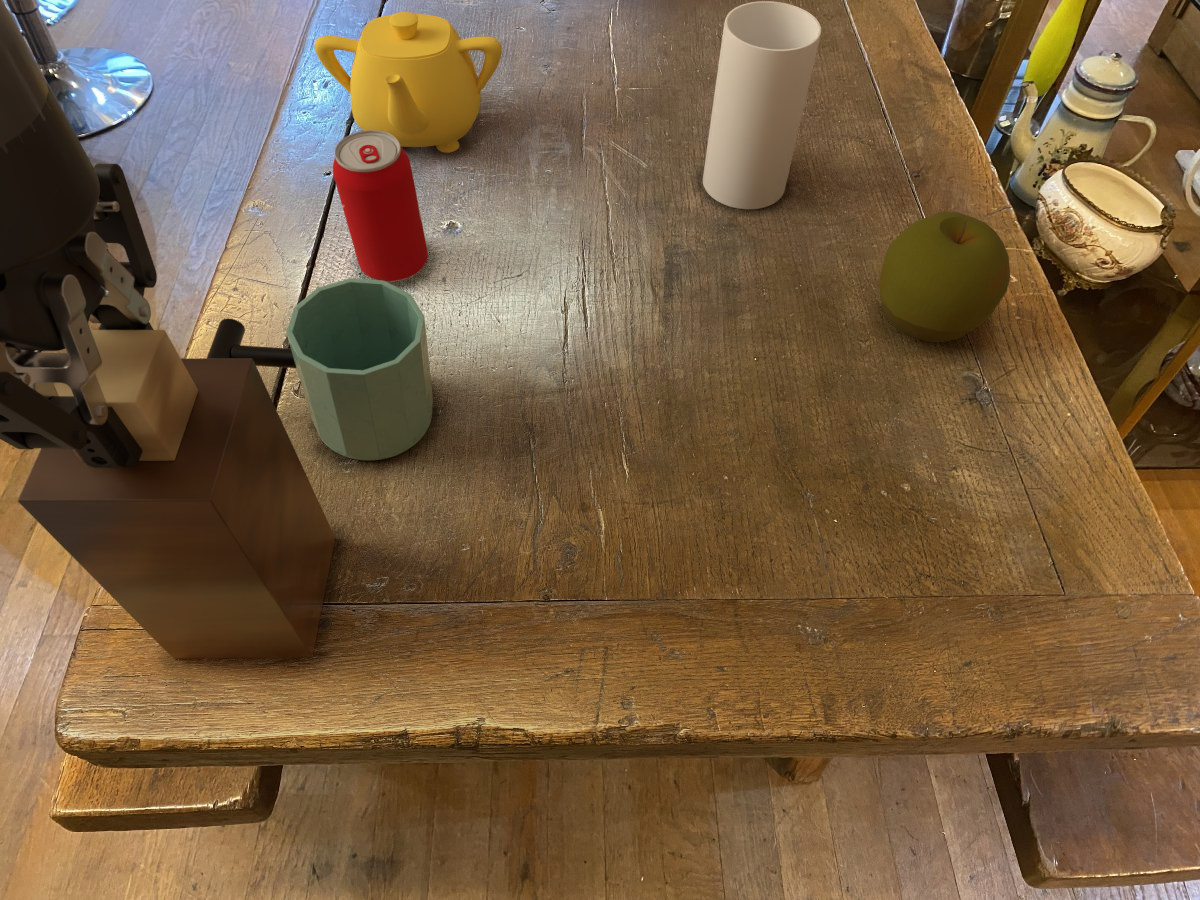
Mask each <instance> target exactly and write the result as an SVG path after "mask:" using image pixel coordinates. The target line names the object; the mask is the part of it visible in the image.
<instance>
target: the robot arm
mask: <svg viewBox="0 0 1200 900" xmlns="http://www.w3.org/2000/svg"><path fill="white" fill-rule="evenodd" d="M138 215H139V214H138V213H137V209H136V207H135V203H134V200H133V196H132V194H131V191H130V188H129V184H128V182H127V179H126V176H125V173H124V170H123V169H122V167H121V166H120V165H119V164H118V163H99V162H98V163H97V162H95V163H93V162H91V160H90V158H89V156H88V154H87V152H86V151H85V149H84V147H83V145H82V143H81V141H80V139H79V138H78V135H77V134H76V132H75V130H74V128H73V127H72V124H71V123H70V121H69V119H68V118H67V115H66V113H65V111H64V110H63V107H62V106H61V105H60V102H59V101H58V99H57V97H56V95H55V93H54V91H53V90H52V88H51V86H50V84H49V82H48V80H47V79H46V77H45V75H44V73H43V71H42V70H41V68H40V66H39V64H38V62H37V60H36V58H35V57H34V55H33V53H32V51H31V49H30V47H29V46H28V44H27V42H26V39H25V38H24V36H23V34H22V33H21V30H20V28H19V27H18V24H17V23H16V21H15V19H14V17H13V16H12V13H10V11H9V9H8V7H7V6H6V4H5V2H4V0H0V440H1V441H2V442H4V443H6V444H8V445H10V446H11V447H14V448H15V449H18V450H34V449H41V448H53V449H66V450H76V452H78V454H79V455H80V457H82V459H83V460H84V461H85V463H86V464H87V465H88V466H91V467H93V468H124V467H133V466H136V465H138V462H139V460H140V457H141V455H142V452H143V451H142V449H141V447H140V446H139V445H138V443H137V442H136V440H135V439H134V438H133V436H132V435H131V433H130V432H129V430H128V429H127V428H126V426H125V425H124V423H123V422H122V421H121V419H120V418H119V416H118V415H117V413H116V412H115V411H114V409H113V408H112V407H108V406H107V403H106V400H105V398H104V395H103V393H102V390H101V387H100V385H99V382H98V380H97V377H96V374H95V373H96V371H97V370H98V369H99V368H100V367H101V366H102V359H101V356H100V354H99V351H98V348H97V346H96V343H95V340H94V338H93V335H92V332H91V330H92V329H91V328H90V325H89V322H90V323H91V324H100V325H99V327H98V329H97V330H154V328H153V325H152V324H151V323H150V320H151V315H152V311H151V306H150V303H149V301H148V300H147V299H146V298H145V296H144V295H145V290H146V289H153V288H155V286H156V285H157V280H158V276H157V275H158V274H157V270H156V267H155V264H154V261H153V258H152V254H151V251H150V248H149V246H148V242H147V239H146V236H145V234H144V230H143V227H142V224H141V221H140V218H139V216H138ZM108 244H118V245H120V246H121V247H123V249H124V251H125V254H126V257H127V260H128V261H119V260H118V259H117V258H116V256H114V255H113V254H112V253H111V252H110V251H109V245H108ZM63 349H66V351H67V353H58V352H59V350H63ZM43 351H44V352H43ZM54 383H64V384H66V385H68V386H69V387H70V388H71V390H72V393H73V395H74V396H59V395H58V393H57V390H56V388H55V386H54Z"/></svg>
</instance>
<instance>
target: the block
mask: <svg viewBox="0 0 1200 900" xmlns="http://www.w3.org/2000/svg"><path fill="white" fill-rule="evenodd" d="M90 330H91V332H92V335H93V338H94V340H95V343H96V346H97V348H98V351H99V354H100V356H101V359H102V366H101V367H100V368H99V369H98V370H97V371H96V373H95V374H96V377H97V380H98V382H99V385H100V387H101V390H102V393H103V395H104V398H105V400H106V403H107V406H108V407H112V408H113V409H114V411H115V412H116V413H117V415H118V416H119V418H120V419H121V421H122V422H123V423H124V425H125V426H126V428H127V429H128V430H129V432H130V433H131V435H132V436H133V438H134V439H135V440H136V442H137V443H138V445H139V446H140V447H141V449H142V451H143V452H142V455H141V457H140V460H139V461H174V460H175V458H176V455H177V452H178V449H179V446H180V444H181V441H182V438H183V435H184V432H185V429H186V426H187V423H188V420H189V417H190V414H191V411H192V408H193V405H194V402H195V399H196V397H197V394H198V388H197V387H196V385H195V383H194V381H193V380H192V378H191V376H190V374H189V372H188V371H187V369H186V367H185V365H184V364H183V362H182V360H181V357H180V355H179V353H178V351H177V350H176V347H175V345H174V344H173V342H172V340H171V338H170V337H169V335H168V333H167V332H166V330H165V329H153V330H98V329H90ZM57 353H67V351H66V349H63V350H59V351H57ZM54 386H55V388H56V390H57V393H58V395H59V396H74V395H73V393H72V390H71V388H70V387H69V386H68V385H66V384H64V383H54ZM73 451H74V452H75V453H76V455H77V456H78V457H79V458H80V459H81V460H82V461H84V460H83V459H82V457H80V455H79V454H78V452H76V450H73Z"/></svg>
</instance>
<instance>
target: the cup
mask: <svg viewBox="0 0 1200 900" xmlns="http://www.w3.org/2000/svg"><path fill="white" fill-rule="evenodd" d="M722 29H723V31H722V38H721V43H720V44H721V45H720V52H719V58H718V60H719V61H718V66H717V73H716V81H715V87H714V96H713V103H712V110H711V117H710V123H709V131H708V136H707V137H708V138H707V144H706V145H707V146H706V152H705V161H704V168H703V173H702V174H703V175H702V185H703V188H704V190H705V192H706V193H707V194H708V195H709V197H711V198H712V199H713V200H714V201H716V202H718V203H720V204H722V205H725V206H727V207H730V208H734V209H740V210H759V209H763V208H766V207H770V206H772V205H774V204H775V203H777V202H778V201H780V199H781V198H782V197H783V196H784V193H785V191H786V186H787V182H788V178H789V173H790V169H791V166H792V165H791V164H792V160H793V155H794V152H795V147H796V144H797V140H798V139H797V138H798V134H799V130H800V126H801V122H802V117H803V114H804V109H805V105H806V100H807V96H808V92H809V87H810V83H811V80H812V75H813V69H814V66H815V60H816V57H817V54H818V53H817V52H818V49H819V43H820V40H821V34H822V26H821V24H820V22H819V20H818V19H817V18H816V17H815V15H813V14H811V13H810V12H809V11H807V10H805V9H803V8H801V7H799V6H796V5H793V4H790V3H785V2H780V1H774V0H773V1H771V0H763V1H762V0H760V1H752V2H746V3H743V4H741V5H738V6H736V7H733V8H732V9H731V10H730V11H729V12H728V13H727V15H726V17H725V18H724V23H723V28H722Z"/></svg>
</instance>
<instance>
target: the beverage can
mask: <svg viewBox="0 0 1200 900" xmlns="http://www.w3.org/2000/svg"><path fill="white" fill-rule="evenodd" d="M332 175H333V179H334V182H335V186H336V189H337V193H338V196H339V199H340V204H341V207H342V210H343V214H344V217H345V222H346V224H347V228H348V232H349V235H350V239H351V243H352V245H353V249H354V253H355V255H356V260H357V263H358V266H359V268H360V270H361V271H362V272H363V274H364V275H366V276H367V277H369V278H370V279H372V280H382V281H386V282H388V283H395V282H401V281H404V280H407V279H410V278H412V277H413V276H416V275H417V274H418V273H419V272H420V271H421V270H422V269H423V268H424V267H425V266H426V264H427V262H428V259H429V251H428V246H427V241H426V236H425V231H424V226H423V220H422V215H421V211H420V210H421V209H420V205H419V201H418V196H417V195H418V194H417V190H416V184H415V179H414V175H413V169H412V164H411V160H410V158H409V155H408V154H407V153H406V151H405V149H403V147H401V146H400V143H399V141H398V140H397V139H396V138H395V137H394V136H393V135H391V134H389V133H386V132H383V131H377V130H366V131H363V130H360V131H356V132H354V133H351V134H349V135H347V136H345V137H344V138H342V139H341V140H340V141H338V142H337V144H336V146H335V147H334V159H333V163H332Z"/></svg>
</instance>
